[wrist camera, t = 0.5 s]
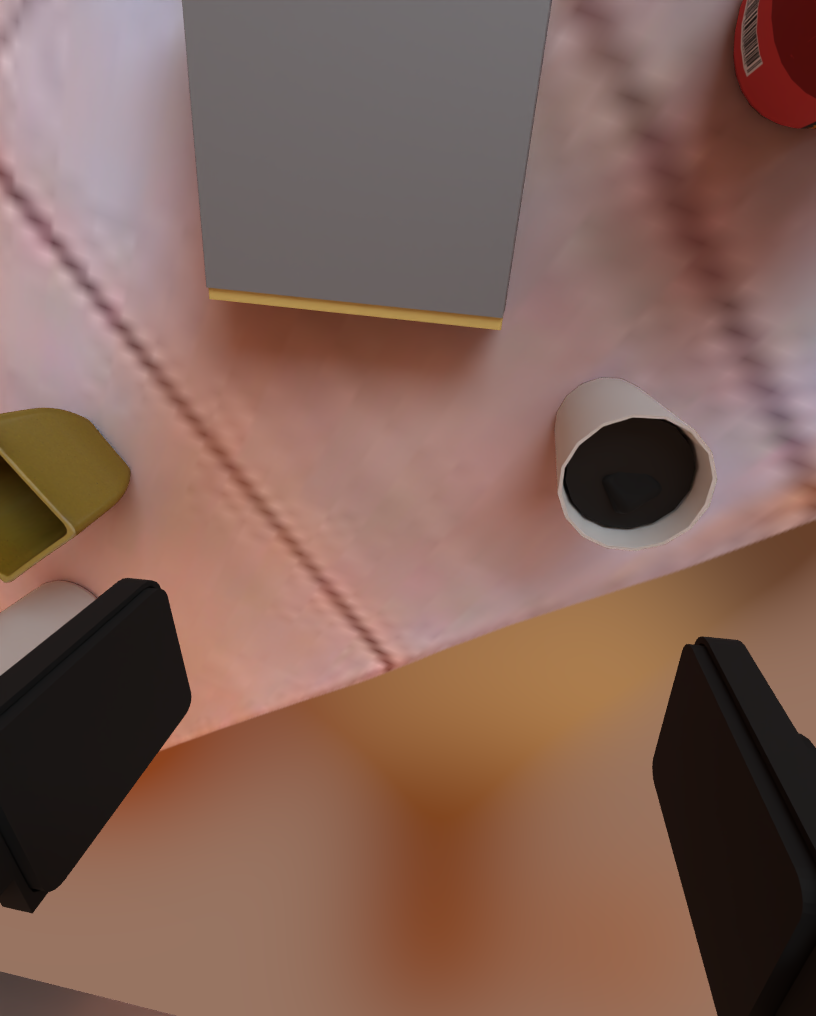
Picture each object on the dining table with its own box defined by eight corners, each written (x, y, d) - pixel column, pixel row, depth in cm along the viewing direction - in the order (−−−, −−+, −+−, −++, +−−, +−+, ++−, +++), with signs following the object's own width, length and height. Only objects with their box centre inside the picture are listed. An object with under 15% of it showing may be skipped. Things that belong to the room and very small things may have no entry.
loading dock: (553, -9, 24) (561, -69, 20) (503, 320, 31) (500, 330, 26) (233, -15, 26) (176, -71, 22) (249, 294, 33) (207, 299, 28)
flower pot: (98, 527, 44) (3, 587, 36) (21, 440, 41) (-99, 483, 33) (165, 479, 40) (77, 534, 32) (85, 382, 38) (-30, 415, 30)
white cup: (678, 443, 32) (740, 514, 23) (576, 491, 34) (595, 571, 25) (633, 347, 30) (681, 384, 21) (528, 405, 33) (531, 459, 24)
